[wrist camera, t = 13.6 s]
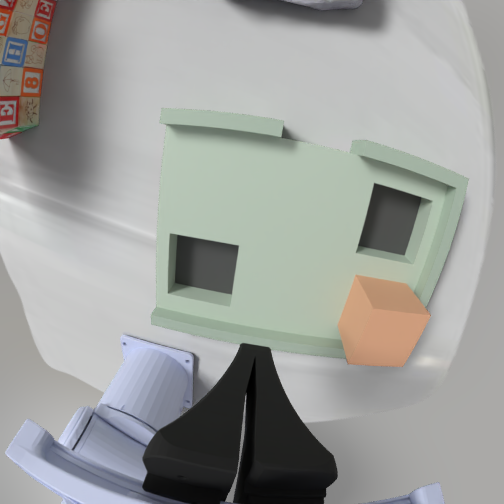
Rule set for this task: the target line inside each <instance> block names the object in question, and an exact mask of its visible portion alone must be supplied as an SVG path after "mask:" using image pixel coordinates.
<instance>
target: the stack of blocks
mask: <svg viewBox="0 0 504 504" xmlns="http://www.w3.org/2000/svg"><path fill="white" fill-rule="evenodd" d="M56 2H57V0H0V139H5V138H10V137H12V136H14V135H16V134H19V133H21V132H22V131H25V130H27V129H30V128H33V127H35V126H38V125H39V107H40V96H41V87H42V77H43V69H44V63H45V56H46V50H47V41H48V35H49V31H50V27H51V21H52V17H53V14H54V10H55V6H56Z"/></svg>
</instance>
